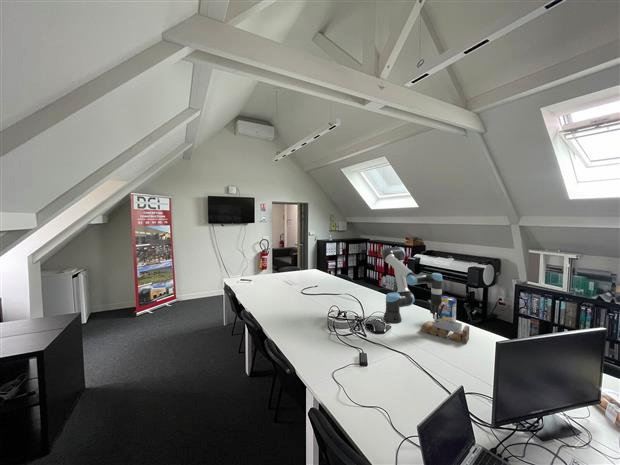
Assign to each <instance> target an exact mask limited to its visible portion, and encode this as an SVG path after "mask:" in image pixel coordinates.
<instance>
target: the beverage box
mask: <svg viewBox="0 0 620 465" xmlns="http://www.w3.org/2000/svg"><path fill="white" fill-rule="evenodd" d="M442 302H443V303H445V304H446V305H445V306H444V308H443V311H442V314H441V315H439V318H441V319H445V320H449V321H453V322H456V321H457V320H456V319H457V298H456V297H450V296H446V295H442ZM441 306H442V303H441V304H440V305H439V313H440V309H441Z"/></svg>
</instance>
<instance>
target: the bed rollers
mask: <svg viewBox="0 0 620 465" xmlns="http://www.w3.org/2000/svg"><path fill="white" fill-rule="evenodd" d="M421 331H422V333H424V334H428V333H430V335H431V336H437V335H438V337H439V338H442V339H445V338H447V337H448V335H449V334H450V333H451V331H448V330H444V329H440V328H437V327H435V323H434V322H432V321H430V320H428V321H426V322H424V324H423V325H422V326H421Z"/></svg>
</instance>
